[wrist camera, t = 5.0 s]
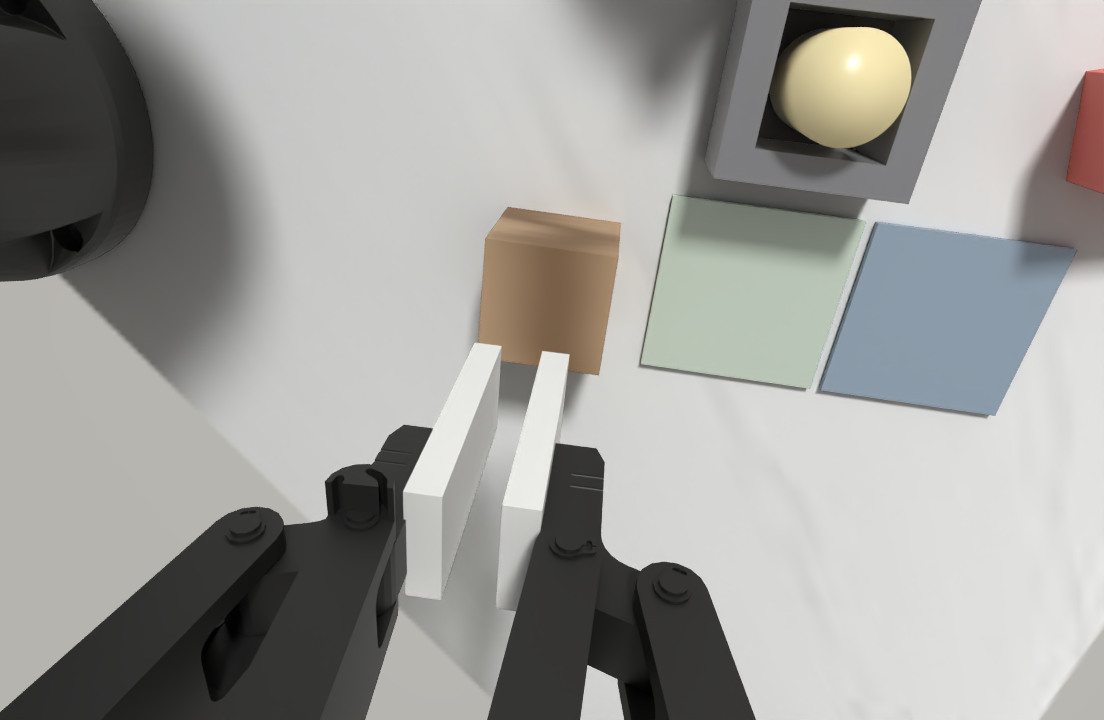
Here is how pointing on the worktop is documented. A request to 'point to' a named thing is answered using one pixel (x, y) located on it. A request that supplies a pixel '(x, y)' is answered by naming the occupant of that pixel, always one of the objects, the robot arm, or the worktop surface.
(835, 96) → the button
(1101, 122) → the die
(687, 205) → the tile
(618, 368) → the worktop surface
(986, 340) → the tile
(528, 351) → the tan wooden cuboid
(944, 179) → the worktop surface
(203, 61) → the worktop surface
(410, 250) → the worktop surface
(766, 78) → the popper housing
